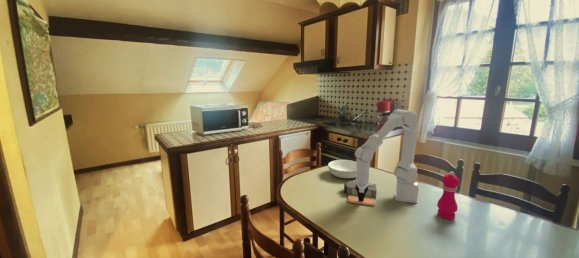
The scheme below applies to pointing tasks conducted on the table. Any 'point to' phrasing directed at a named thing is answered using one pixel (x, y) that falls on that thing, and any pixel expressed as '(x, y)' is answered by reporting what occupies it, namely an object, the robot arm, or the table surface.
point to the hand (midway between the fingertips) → (361, 200)
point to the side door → (366, 201)
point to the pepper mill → (448, 197)
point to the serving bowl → (343, 168)
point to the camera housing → (352, 191)
